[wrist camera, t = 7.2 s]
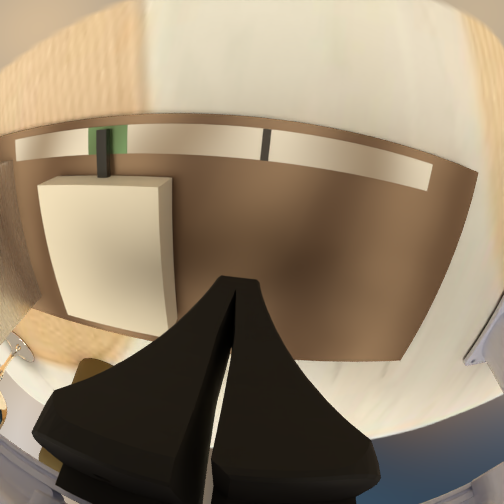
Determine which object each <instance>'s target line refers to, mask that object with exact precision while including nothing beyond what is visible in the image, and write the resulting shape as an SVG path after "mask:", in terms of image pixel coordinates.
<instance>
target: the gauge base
mask: <svg viewBox="0 0 504 504" xmlns="http://www.w3.org/2000/svg"><path fill="white" fill-rule="evenodd" d="M100 129H110V172H111V176H149V177H171V178H172V233H173V260H174V279H175V294H176V307H177V320H176V322H177V321H179V320H180V319H181V318H182V317H183V316H184V315H185V314H186V313H187V312H188V311H189V310H190V309H191V308H192V307H193V306H194V305H195V304H196V303H197V302H198V301H199V300H200V299H201V298H202V297H203V295H204V294H205V293H206V292H207V291H208V290H209V288H210V287H211V286H212V285H213V283H214V282H215V281H216V279H217V278H218V277H219V276H221V275H223V276H231V277H240V278H248V279H257V280H258V281H259V282H260V288H261V292H262V296H263V299H264V302H265V305H266V307H267V310H268V312H269V314H270V317H271V319H272V321H273V324H274V326H275V328H276V330H277V332H278V333H279V335H280V337H281V339H282V341H283V343H284V344H285V346H286V348H287V349H288V351H289V353H290V354H291V356H292V357H293V359H294V360H310V361H350V362H358V361H397V360H401V358H402V357H403V355H404V354H405V352H406V350H407V349H408V347H409V345H410V344H411V342H412V340H413V338H414V337H415V335H416V333H417V331H418V330H419V328H420V326H421V324H422V322H423V320H424V318H425V316H426V315H427V313H428V311H429V309H430V307H431V305H432V303H433V301H434V299H435V296H436V294H437V292H438V290H439V288H440V286H441V283H442V281H443V279H444V277H445V274H446V272H447V270H448V267H449V265H450V262H451V260H452V257H453V255H454V252H455V249H456V247H457V244H458V241H459V238H460V236H461V233H462V230H463V227H464V224H465V221H466V217H467V214H468V211H469V207H470V204H471V200H472V197H473V193H474V189H475V185H476V181H477V176H478V172H476V171H474V170H471V169H469V168H466V167H464V166H461V165H459V164H456V163H454V162H451V161H448V160H446V159H443V158H440V157H437V156H434V155H432V154H429V153H426V152H423V151H419V150H416V149H413V148H410V147H407V146H403V145H400V144H396V143H393V142H389V141H386V140H382V139H378V138H374V137H370V136H366V135H362V134H357V133H353V132H348V131H344V130H339V129H334V128H329V127H323V126H318V125H312V124H306V123H299V122H292V121H285V120H277V119H269V118H259V117H249V116H236V115H220V114H190V113H169V114H139V115H123V116H111V117H101V118H92V119H84V120H77V121H70V122H64V123H58V124H53V125H47V126H42V127H37V128H33V129H28V130H24V131H20V132H16V133H12V134H8V135H4V136H1V137H0V162H2V161H9V160H13V170H14V179H15V188H16V195H17V201H18V207H19V213H20V218H21V223H22V228H23V233H24V237H25V241H26V245H27V249H28V253H29V257H30V261H31V264H32V267H33V271H34V274H35V277H36V280H37V283H38V286H39V289H40V292H41V295H42V297H41V298H40V299H39V300H38V301H37V302H36V303H35V305H34V306H33V307H32V308H33V309H36V310H39V311H42V312H45V313H48V314H51V315H54V316H57V317H60V318H63V319H66V320H70V321H73V322H76V323H80V324H83V325H87V326H91V327H94V328H98V329H102V330H106V331H110V332H114V333H118V334H122V335H126V336H131V337H135V338H140V339H144V340H149V341H154V340H156V339H157V338H158V336H153V335H148V334H143V333H139V332H134V331H129V330H125V329H121V328H116V327H112V326H108V325H104V324H100V323H96V322H92V321H89V320H85V319H81V318H78V317H74V316H71V315H68V313H67V311H66V308H65V305H64V302H63V299H62V296H61V293H60V290H59V286H58V283H57V280H56V276H55V273H54V269H53V265H52V262H51V258H50V254H49V249H48V245H47V241H46V236H45V231H44V226H43V221H42V215H41V209H40V202H39V195H38V187H37V185H39V184H41V183H43V182H46V181H48V180H50V179H52V178H54V177H57V176H97V157H96V130H100ZM231 350H232V347H231ZM230 354H231V351H230Z"/></svg>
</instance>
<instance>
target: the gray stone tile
mask: <svg viewBox="0 0 504 504" xmlns="http://www.w3.org/2000/svg"><path fill="white" fill-rule="evenodd" d="M41 297H42V295H41V292H40V289H39V286H38V283H37V280H36V277H35V274H34V271H33V267H32V264H31V261H30V257H29V253H28V249H27V245H26V241H25V237H24V233H23V228H22V223H21V218H20V213H19V207H18V201H17V195H16V188H15V179H14V170H13V160H9V161H2V162H0V345H1V344H2V343H3V342H4V340H5V339H6V338H7V336H8V335H9V334H10V333H11V331H12V330H13V329H14V328H15V327H16V325H17V324H18V323H19V322H20V321H21V319H22V318H23V317H24V316H25V315H26V314H27V312H28V311H29V310H30V309H31V308H32V307H33V306H34V305H35V303H36V302H37V301H38V300H39V299H40V298H41Z"/></svg>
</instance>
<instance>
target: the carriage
mask: <svg viewBox="0 0 504 504" xmlns="http://www.w3.org/2000/svg"><path fill="white" fill-rule="evenodd" d="M96 157H97V176H57V177H54V178H52V179H50V180H48V181H46V182H43V183H41V184H39V185H37V187H38V195H39V202H40V209H41V215H42V221H43V226H44V231H45V236H46V241H47V245H48V249H49V254H50V258H51V262H52V265H53V269H54V273H55V276H56V280H57V283H58V286H59V290H60V293H61V296H62V299H63V302H64V305H65V308H66V311H67V313H68V315H71V316H74V317H78V318H81V319H85V320H89V321H92V322H96V323H100V324H104V325H108V326H112V327H116V328H121V329H125V330H129V331H134V332H139V333H143V334H148V335H153V336H158V337H160V336H161V335H162V334H163V333H165V332H166V331H167V330H168V329H170V328H171V327H172V326H173V325H174V324H175V323H176V320H177V307H176V294H175V279H174V260H173V233H172V178H171V177H149V176H111V172H110V129H100V130H96Z"/></svg>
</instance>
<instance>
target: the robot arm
mask: <svg viewBox="0 0 504 504" xmlns="http://www.w3.org/2000/svg"><path fill="white" fill-rule="evenodd" d="M231 347H232V350H231ZM230 351H231V361H230V366H229V372H228V377H227V383H226V388H225V393H224V398H223V403H222V409H221V414H220V418H219V423H218V428H217V433H216V438H215V443H214V447H213V452H212V457H211V464H212V475H213V485H214V487H213V493H212V500H211V504H356V496H358V495H360V494H362V493H363V492H365V491H367V490H369V489H371V488H372V487H373V486H375V485H377V483H378V482H379V481H380V478H381V475H380V470H379V463H378V460H377V456H376V454H375V451H374V447H373V445H372V442H371V440H370V439H369V438H368V437H366V436H365V435H364V434H363V433H361V432H360V431H359V430H358V429H356V428H355V427H354V426H353V425H352V424H350V423H349V422H348V421H347V420H346V419H345V418H344V417H343V416H342V415H341V414H340V413H339V412H338V411H337V410H336V409H335V408H334V407H333V406H332V405H331V404H330V403H329V402H328V401H327V400H326V399H325V398H324V397H323V396H322V395H321V393H320V392H319V391H318V390H317V389H316V388H315V387H314V385H313V384H312V383H311V382H310V381H309V380H308V378H307V377H306V376H305V374H304V373H303V372H302V370H301V369H300V368H299V366H298V365H297V363H296V362H295V360H294V359H293V357H292V356H291V354H290V353H289V351H288V349H287V348H286V346H285V344H284V343H283V341H282V339H281V337H280V335H279V333H278V332H277V330H276V328H275V326H274V324H273V321H272V319H271V317H270V314H269V312H268V310H267V307H266V305H265V302H264V299H263V296H262V292H261V288H260V282H259V281H258V280H257V279H248V278H240V277H231V276H223V275H221V276H219V277H218V278H217V279H216V281H215V282H214V283H213V285H212V286H211V287H210V288H209V290H208V291H207V292H206V293H205V294H204V295H203V297H202V298H201V299H200V300H199V301H198V302H197V303H196V304H195V305H194V306H193V307H192V308H191V309H190V310H189V311H188V312H187V313H186V314H185V315H184V316H183V317H182V318H181V319H180V320H179V321H177V322H176V323H175V324H174V325H173V326H172V327H171V328H170V329H168V330H167V331H166V332H165V333H163V334H162V335H161V336H160V337H158V338H157V339H156V340H154V341H153V342H152V343H150V344H149V345H147V346H146V347H144V348H143V349H141V350H140V351H138V352H137V353H135V354H134V355H132V356H130V357H129V358H127V359H125V360H124V361H122V362H120V363H118V364H116V365H114V366H112V367H110V368H109V369H107V370H105V371H103V372H101V373H99V374H96V375H94V376H92V377H90V378H87V379H85V380H82V381H79V382H77V383H74V384H71V385H68V386H66V387H63V388H60V389H57V390H54V392H53V393H52V395H51V396H50V398H49V399H48V401H47V403H46V404H45V406H44V408H43V411H42V412H41V414H40V416H39V418H38V420H37V422H36V424H35V426H34V428H33V430H32V434H33V437H34V438H35V440H36V441H37V442H38V443H39V444H40V445H41V446H42V447H44V448H45V449H46V450H47V451H48V452H49V453H51V454H52V455H53V456H54V457H56V458H57V459H58V460H59V461H61V462H62V463H63V465H62V467H61V470H60V472H57V471H55V470H54V469H52V468H50V467H48V466H47V465H45V464H43V463H42V462H40V461H38V460H37V459H35V458H34V457H32V456H31V455H29V454H28V453H26V452H25V451H23V450H22V449H20V448H19V447H17V446H16V445H15V444H13V443H12V442H10V441H9V440H8V439H6V438H5V437H4V436H2V435H1V434H0V504H66V503H65V501H64V498H63V496H62V495H64V496H66V497H68V498H70V499H72V500H74V501H76V502H78V503H80V504H203V495H204V487H205V479H206V471H207V464H208V456H209V449H210V443H211V436H212V429H213V423H214V416H215V410H216V405H217V400H218V396H219V393H220V389H221V385H222V381H223V378H224V374H225V370H226V366H227V363H228V359H229V355H230ZM483 362H487V364H488V365H489V367H490V369H491V371H492V372H493V374H494V376H495V378H496V380H497V382H498V384H499V385H500V387H501V389H502V391H503V393H504V295H503V297H502V299H501V301H500V303H499V305H498V307H497V308H496V310H495V312H494V314H493V316H492V317H491V319H490V321H489V322H488V324H487V326H486V327H485V329H484V331H483V332H482V334H481V335H480V337H479V339H478V340H477V342H476V343H475V345H474V346H473V348H472V349H471V351H470V352H469V353H468V355H467V356H466V358H465V359H464V364H465V365H466V366H467V365H473V364H478V363H483ZM60 493H61V494H62V495H61V494H60ZM421 504H504V462H502V463H501V464H499V465H497V466H496V467H494V468H492V469H491V470H489V471H487V472H486V473H484V474H482V475H481V476H479V477H477V478H476V479H474V480H473V481H472V482H471V483H468V484H466V485H464V486H462V487H460V488H458V489H456V490H453V491H451V492H449V493H447V494H444V495H442V496H439V497H437V498H434V499H431V500H429V501H426V502H423V503H421Z"/></svg>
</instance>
